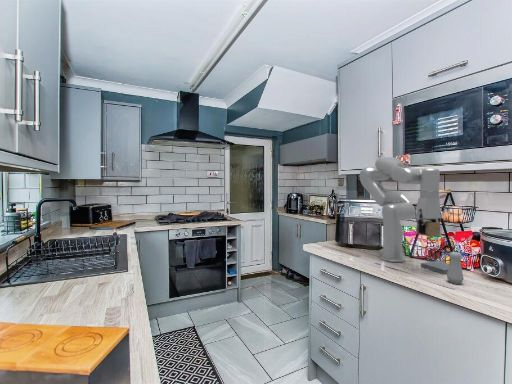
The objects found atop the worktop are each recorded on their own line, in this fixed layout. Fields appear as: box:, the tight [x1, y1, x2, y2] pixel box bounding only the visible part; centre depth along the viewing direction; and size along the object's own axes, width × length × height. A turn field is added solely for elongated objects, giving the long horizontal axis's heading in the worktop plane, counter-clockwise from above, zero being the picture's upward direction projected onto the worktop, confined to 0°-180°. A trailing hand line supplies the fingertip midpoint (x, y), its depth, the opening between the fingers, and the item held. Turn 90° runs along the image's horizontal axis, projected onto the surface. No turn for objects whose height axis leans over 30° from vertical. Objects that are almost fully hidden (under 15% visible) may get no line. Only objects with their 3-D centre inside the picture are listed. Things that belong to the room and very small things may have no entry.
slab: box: [420, 260, 463, 275], centre depth 132 cm, size 12×12×2 cm
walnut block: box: [416, 220, 441, 237], centre depth 126 cm, size 6×6×6 cm
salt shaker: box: [446, 251, 465, 285], centre depth 114 cm, size 6×6×13 cm
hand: (428, 232), depth 126 cm, fingers closed on walnut block, 6 cm apart
